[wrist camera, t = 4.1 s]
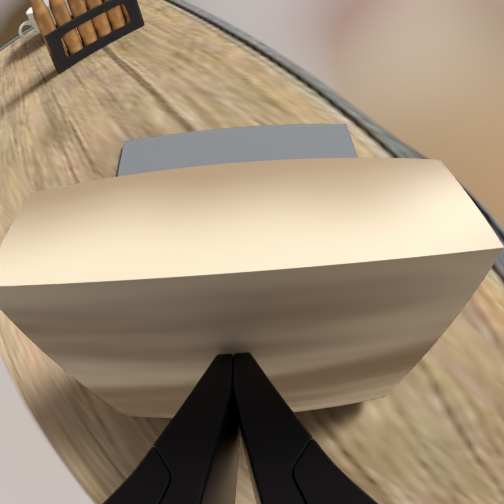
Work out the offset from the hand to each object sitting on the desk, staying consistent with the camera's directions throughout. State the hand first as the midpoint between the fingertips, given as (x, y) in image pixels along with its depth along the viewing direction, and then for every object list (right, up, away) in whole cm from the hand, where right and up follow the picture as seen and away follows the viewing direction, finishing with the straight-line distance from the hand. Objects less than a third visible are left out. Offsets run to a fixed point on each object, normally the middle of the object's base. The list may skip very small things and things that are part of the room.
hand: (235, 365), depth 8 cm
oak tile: (0, -3, +6) cm, 7 cm away
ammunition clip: (-16, +25, +19) cm, 35 cm away
